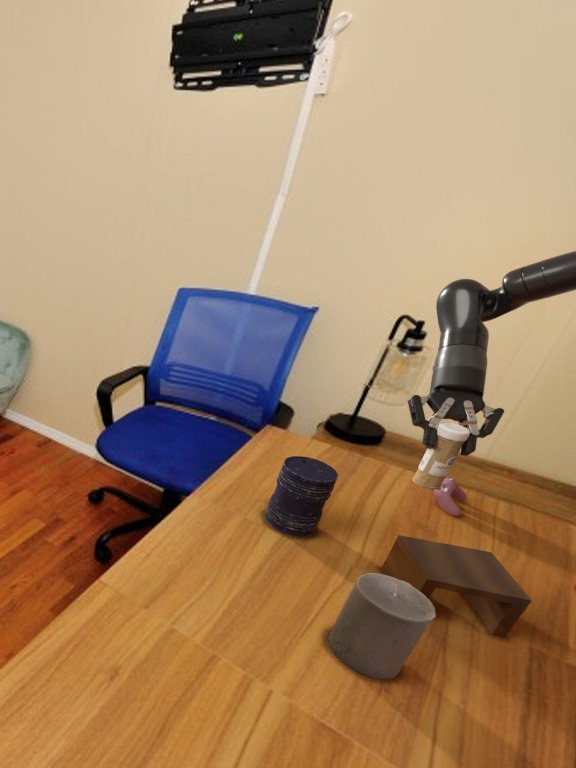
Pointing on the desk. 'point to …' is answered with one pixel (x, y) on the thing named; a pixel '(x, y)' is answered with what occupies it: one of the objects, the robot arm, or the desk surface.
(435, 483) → the sprinkles bottle
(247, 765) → the desk surface
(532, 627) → the desk surface
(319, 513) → the navy ridged cylinder
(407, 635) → the pillar candle
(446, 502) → the video game controller
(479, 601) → the shelf
